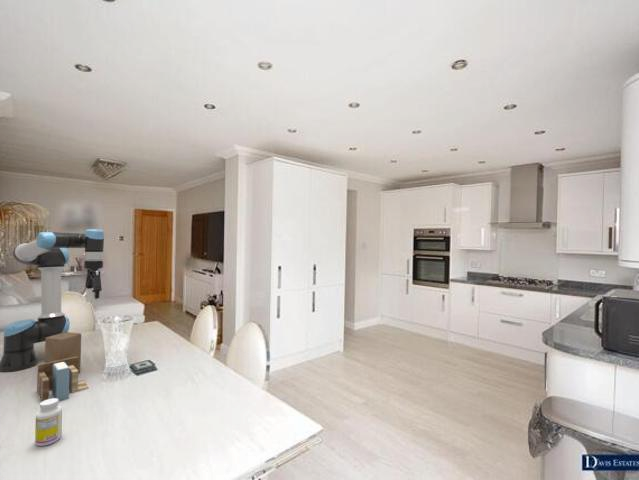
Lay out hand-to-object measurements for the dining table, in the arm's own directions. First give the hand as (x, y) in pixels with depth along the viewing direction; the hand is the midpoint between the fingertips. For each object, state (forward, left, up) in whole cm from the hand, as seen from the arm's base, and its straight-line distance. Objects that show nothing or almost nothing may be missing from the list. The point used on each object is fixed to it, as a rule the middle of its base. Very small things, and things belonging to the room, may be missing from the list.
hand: (92, 303), depth 155 cm
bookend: (+11, -7, -36) cm, 38 cm away
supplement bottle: (+51, -23, -36) cm, 67 cm away
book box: (+16, -14, -36) cm, 42 cm away
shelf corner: (+11, -13, -36) cm, 40 cm away
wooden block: (-9, -9, -36) cm, 38 cm away
